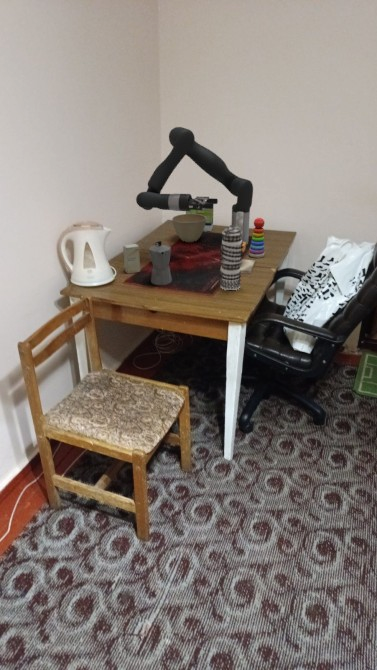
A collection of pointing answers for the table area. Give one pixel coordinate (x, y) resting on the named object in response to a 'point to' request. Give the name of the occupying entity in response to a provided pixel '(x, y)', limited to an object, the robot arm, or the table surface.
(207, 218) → the tea box
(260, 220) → the stacking toy
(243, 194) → the robot arm
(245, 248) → the collar
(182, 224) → the beige bowl
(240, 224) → the post stand
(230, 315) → the table surface
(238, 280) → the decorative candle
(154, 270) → the coffeepot
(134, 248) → the skincare box
